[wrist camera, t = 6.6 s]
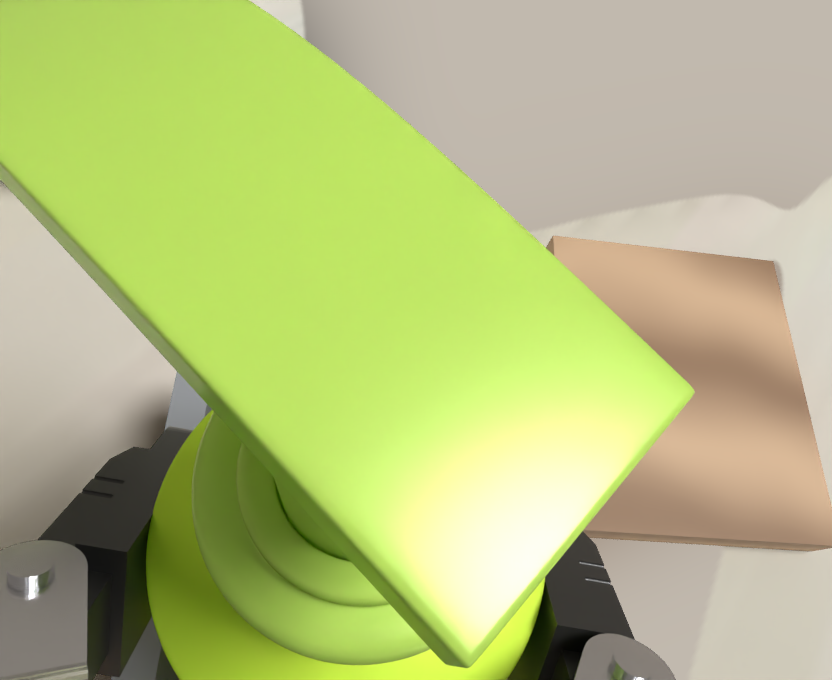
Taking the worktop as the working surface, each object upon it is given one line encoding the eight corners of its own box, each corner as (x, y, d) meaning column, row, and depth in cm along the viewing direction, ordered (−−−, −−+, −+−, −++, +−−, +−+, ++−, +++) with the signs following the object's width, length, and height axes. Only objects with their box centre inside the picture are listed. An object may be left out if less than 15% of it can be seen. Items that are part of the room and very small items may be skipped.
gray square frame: (477, 783, 19) (525, 827, 15) (137, 777, 18) (80, 823, 14) (476, 420, 24) (512, 371, 20) (208, 398, 23) (183, 342, 19)
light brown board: (811, 551, 24) (841, 546, 23) (557, 535, 23) (572, 529, 22) (751, 278, 29) (773, 261, 28) (541, 254, 28) (553, 235, 27)
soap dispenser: (325, 450, 23) (311, -218, 5) (464, 594, 22) (1116, 343, 4) (191, 571, 21) (-641, 121, 3) (335, 742, 19) (406, 1959, 1)
